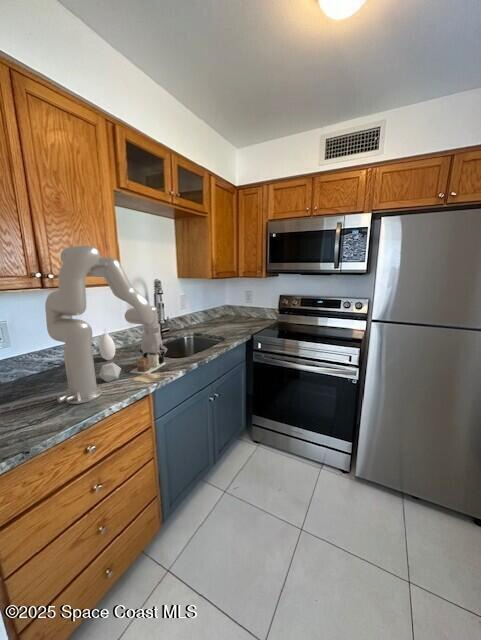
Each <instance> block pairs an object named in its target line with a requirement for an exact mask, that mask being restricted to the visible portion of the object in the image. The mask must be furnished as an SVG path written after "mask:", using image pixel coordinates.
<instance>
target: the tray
mask: <svg viewBox="0 0 481 640" xmlns="http://www.w3.org/2000/svg"><path fill="white" fill-rule="evenodd" d="M166 364H167V362H166V361H164V362H163V363H162V364H159V365H157V366H155V367H154V366H150V370H148V371H146V372H138V367H135V368H134V369H132V370H130V371H129V373H130V374H138V375H142V374H149V373H151V374H152V373H153V372H154V371H156V370H158V369H160V368H162V366H164V365H166Z"/></svg>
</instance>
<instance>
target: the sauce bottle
mask: <svg viewBox="0 0 481 640" xmlns="http://www.w3.org/2000/svg"><path fill="white" fill-rule="evenodd" d="M98 347H99V353H100V356H101V357H102V358H103V360H104V359H105V360H106V361H110V360H111V361H112V360H113V358H114V356H115V354H116V345H115V342H114V340H113V338H112V337H111V336H110V335H109V332H107V331H106V329H104V333H102V336H101V338H100V341H99V346H98Z"/></svg>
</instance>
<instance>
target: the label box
mask: <svg viewBox="0 0 481 640" xmlns="http://www.w3.org/2000/svg"><path fill="white" fill-rule="evenodd" d="M147 354H148V355H147V357H148V358H149V365H150V366H154V367H155V366H157V365H159V359H158V357H159V355H158V354H157V353H147Z"/></svg>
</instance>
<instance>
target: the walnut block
mask: <svg viewBox="0 0 481 640" xmlns="http://www.w3.org/2000/svg"><path fill="white" fill-rule="evenodd" d="M136 364H137V365H136V366H137V367H136V368H138V372H146V371H148V370H150V365H149V358H144V357H143V356H142V357H139V359H136Z"/></svg>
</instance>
